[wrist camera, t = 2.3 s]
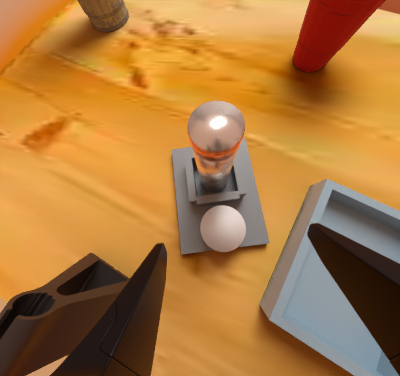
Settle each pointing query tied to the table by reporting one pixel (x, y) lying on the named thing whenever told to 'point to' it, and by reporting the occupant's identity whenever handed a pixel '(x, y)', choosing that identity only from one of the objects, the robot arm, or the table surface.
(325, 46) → the plastic cup
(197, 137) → the salt shaker
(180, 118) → the table surface
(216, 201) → the plate
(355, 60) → the table surface
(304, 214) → the tray
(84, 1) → the thermos
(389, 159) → the table surface
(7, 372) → the phone stand
